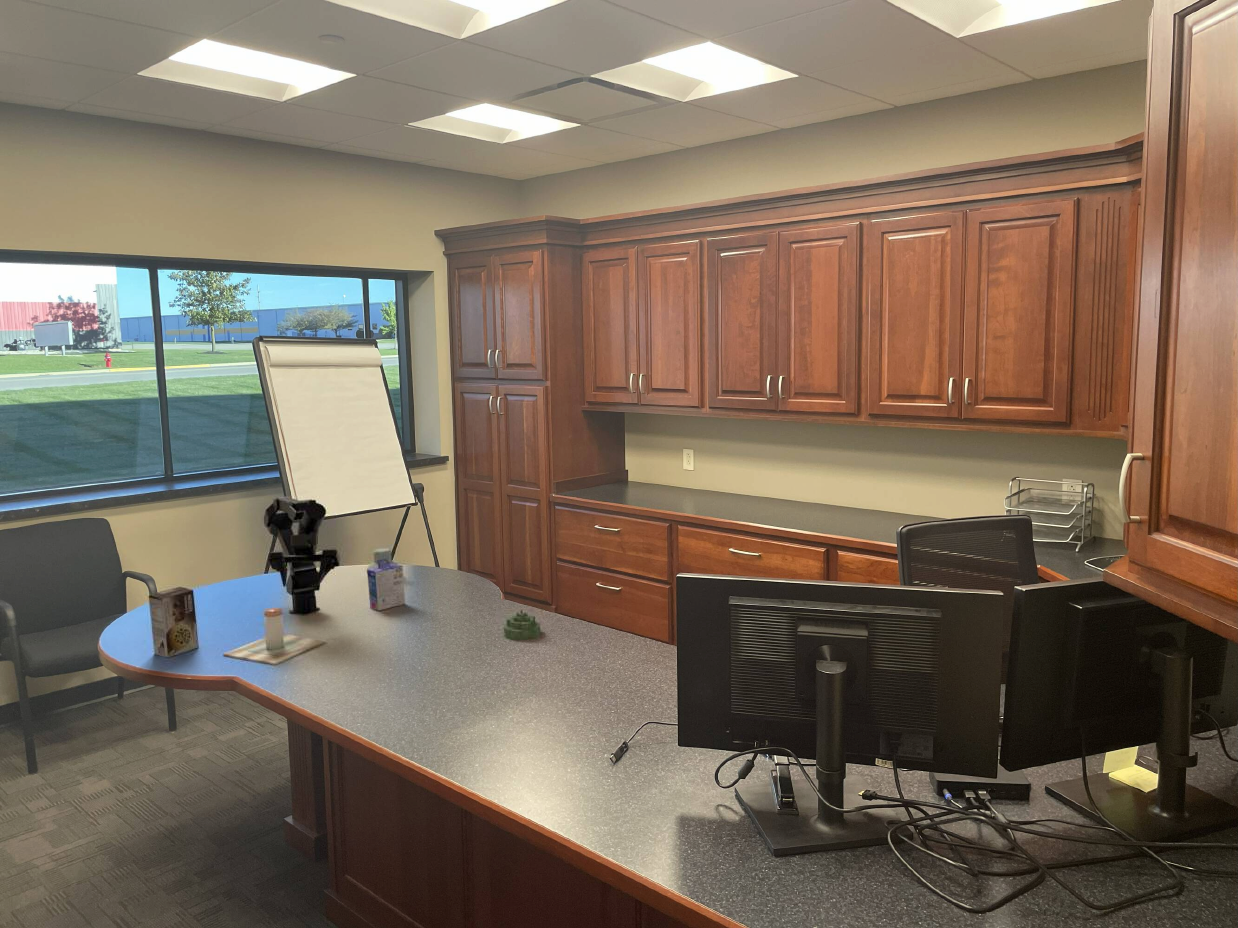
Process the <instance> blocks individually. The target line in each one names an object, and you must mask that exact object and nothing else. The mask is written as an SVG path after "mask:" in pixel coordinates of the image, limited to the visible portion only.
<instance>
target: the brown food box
mask: <svg viewBox="0 0 1238 928" xmlns="http://www.w3.org/2000/svg"><path fill="white" fill-rule="evenodd" d="M148 602H149V612H150V622H151V623H150V625H151V634H152V644H153V653H154V655H158V656H161V657H164V658H166V659H167V658H171V657H174V656H177V655H179V654H182V653H185V652H188V651H192V650H194V649H197V648H199V647H200V645H199V635H198V626H197V616H196V606H195V595H194V589H191V588H187V587H182V586H178V587H174V588H173V587H172V588H171V589H167V590H163V591H159V592H156V593H151V594H148Z"/></svg>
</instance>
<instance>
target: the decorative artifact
mask: <svg viewBox="0 0 1238 928" xmlns="http://www.w3.org/2000/svg"><path fill="white" fill-rule="evenodd" d="M539 636H541V623H540V622H538V621H536V616H533V615H529V614H528V613H527V612H526V611H524V612H523V609H520V611H519V612H516V614H515V615H513V616H512V617H511V616H510V617H508V618H507V619H506V623H505V624H504V625H503V637H504V638H506V639H509V640H515V641H525V640H530V639H531V640H532V639H535V638H538V637H539Z"/></svg>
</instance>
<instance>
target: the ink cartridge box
mask: <svg viewBox="0 0 1238 928" xmlns="http://www.w3.org/2000/svg"><path fill="white" fill-rule="evenodd" d="M382 561H386V562H387V563H385V564H380V562H382ZM377 563H378V567H377V568H373V569H369V570H367V569H366V574H367V585H368V596H369V608H370V609H372V610H375V611H383V610H387V609H390V608H394V607H398V606H402V605H405V604H406V597H405V596H406V594H405V582H404V578H405V577H404V566H403V565H400V564H398V563H397V564H389V562H388V559H387V558H386V559H381V560H377Z"/></svg>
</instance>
